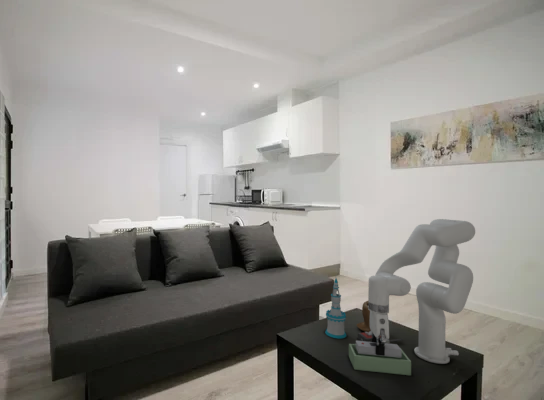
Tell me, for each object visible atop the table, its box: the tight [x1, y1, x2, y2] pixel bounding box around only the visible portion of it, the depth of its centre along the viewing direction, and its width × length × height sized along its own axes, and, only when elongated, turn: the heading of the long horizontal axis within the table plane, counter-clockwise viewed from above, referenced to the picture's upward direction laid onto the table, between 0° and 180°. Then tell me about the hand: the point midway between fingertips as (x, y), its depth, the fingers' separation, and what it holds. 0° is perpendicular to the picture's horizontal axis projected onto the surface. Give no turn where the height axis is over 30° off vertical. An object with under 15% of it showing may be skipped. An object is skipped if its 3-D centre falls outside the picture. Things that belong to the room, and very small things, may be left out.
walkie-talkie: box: [357, 331, 404, 344], centre depth 141 cm, size 9×4×20 cm
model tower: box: [324, 274, 347, 339], centre depth 149 cm, size 10×10×30 cm
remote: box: [355, 340, 403, 358], centre depth 121 cm, size 16×5×3 cm, turn 79°
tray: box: [348, 343, 412, 376], centre depth 121 cm, size 21×10×6 cm, turn 79°
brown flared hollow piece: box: [356, 300, 371, 333], centre depth 153 cm, size 15×12×15 cm
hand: (377, 351), depth 121 cm, fingers closed on remote, 4 cm apart
